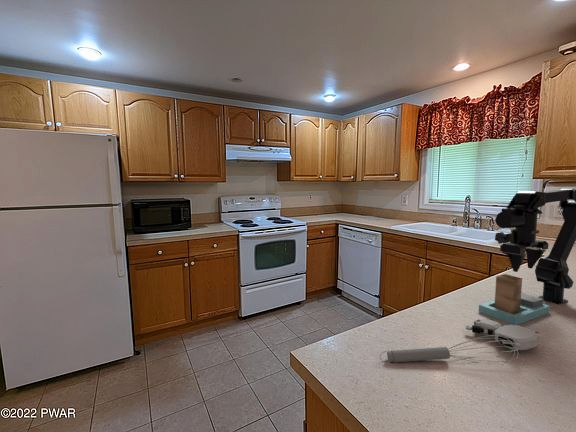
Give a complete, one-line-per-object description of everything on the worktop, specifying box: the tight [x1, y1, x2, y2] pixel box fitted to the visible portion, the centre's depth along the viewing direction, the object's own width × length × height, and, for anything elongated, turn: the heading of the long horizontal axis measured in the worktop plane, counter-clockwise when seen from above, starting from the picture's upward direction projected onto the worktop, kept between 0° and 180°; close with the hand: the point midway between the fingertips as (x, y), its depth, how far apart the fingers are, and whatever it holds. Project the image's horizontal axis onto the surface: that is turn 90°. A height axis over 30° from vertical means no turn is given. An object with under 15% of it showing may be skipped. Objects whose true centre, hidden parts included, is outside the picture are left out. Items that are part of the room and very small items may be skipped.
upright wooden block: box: [494, 273, 523, 315], centre depth 94 cm, size 5×5×13 cm
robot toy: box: [464, 318, 544, 351], centre depth 79 cm, size 12×4×15 cm
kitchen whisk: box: [379, 335, 520, 364], centre depth 70 cm, size 6×34×6 cm, turn 90°
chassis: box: [478, 292, 551, 326], centre depth 96 cm, size 20×11×4 cm, turn 114°
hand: (522, 269), depth 101 cm, fingers open, 9 cm apart
